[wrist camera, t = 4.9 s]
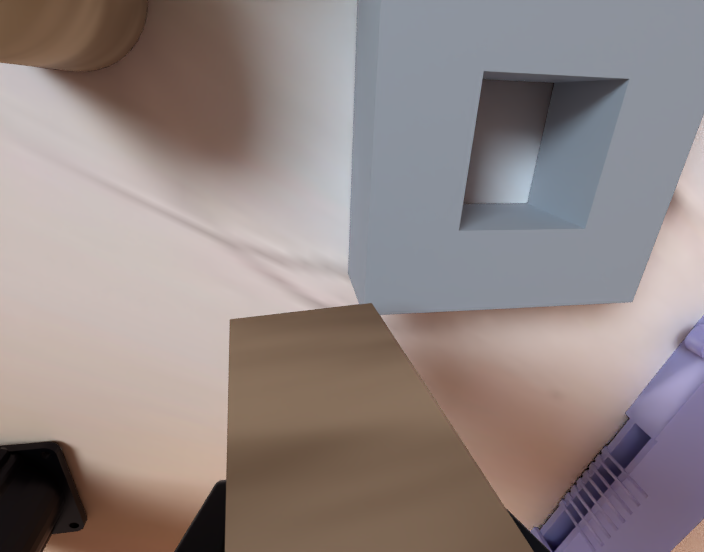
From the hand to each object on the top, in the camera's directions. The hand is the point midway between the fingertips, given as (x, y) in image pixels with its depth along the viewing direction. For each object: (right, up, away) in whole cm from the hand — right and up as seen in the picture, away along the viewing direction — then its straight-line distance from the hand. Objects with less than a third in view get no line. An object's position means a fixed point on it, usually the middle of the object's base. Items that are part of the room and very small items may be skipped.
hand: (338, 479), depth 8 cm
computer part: (+21, -12, +22) cm, 33 cm away
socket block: (+6, +10, +9) cm, 15 cm away
